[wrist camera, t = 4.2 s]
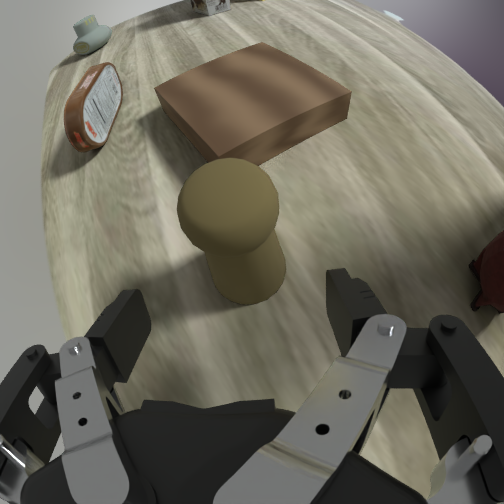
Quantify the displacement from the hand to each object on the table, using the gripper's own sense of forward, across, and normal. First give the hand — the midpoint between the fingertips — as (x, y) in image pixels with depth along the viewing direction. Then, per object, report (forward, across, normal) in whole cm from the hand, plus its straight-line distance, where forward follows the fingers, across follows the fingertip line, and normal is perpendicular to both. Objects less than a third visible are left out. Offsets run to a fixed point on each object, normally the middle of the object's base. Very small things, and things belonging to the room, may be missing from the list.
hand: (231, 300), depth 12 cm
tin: (+27, +18, -13) cm, 35 cm away
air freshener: (+55, +35, -41) cm, 77 cm away
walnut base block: (+24, -2, -10) cm, 26 cm away
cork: (+11, 0, +4) cm, 11 cm away
